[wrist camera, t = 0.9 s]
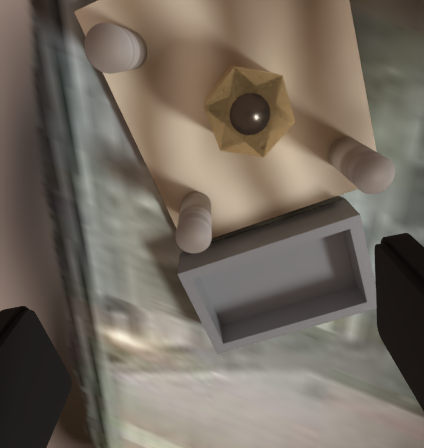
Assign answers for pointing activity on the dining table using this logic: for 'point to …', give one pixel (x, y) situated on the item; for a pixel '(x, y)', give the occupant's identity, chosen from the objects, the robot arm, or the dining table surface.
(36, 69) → the dining table surface
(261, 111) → the tan faceted piece
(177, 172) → the spacer board
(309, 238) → the tray
